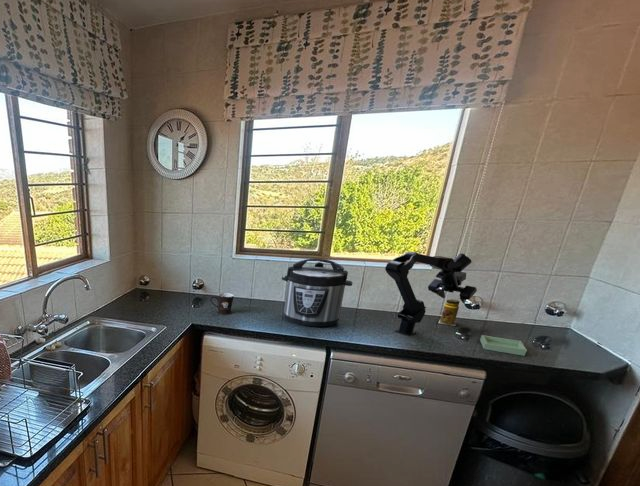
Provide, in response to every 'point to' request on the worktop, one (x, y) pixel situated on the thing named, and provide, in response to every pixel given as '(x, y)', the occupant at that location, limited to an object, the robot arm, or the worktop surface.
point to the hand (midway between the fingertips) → (454, 300)
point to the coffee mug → (224, 302)
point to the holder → (503, 345)
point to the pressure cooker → (315, 293)
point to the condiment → (449, 312)
